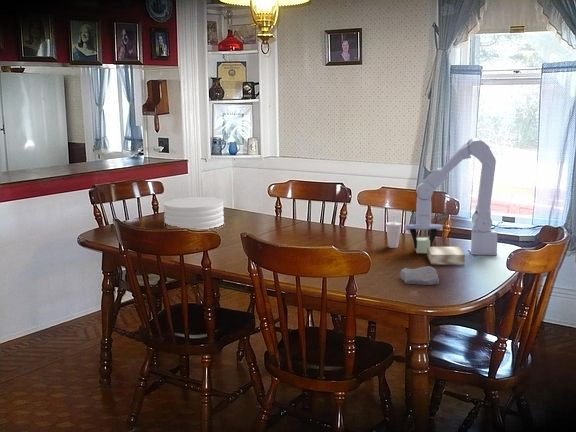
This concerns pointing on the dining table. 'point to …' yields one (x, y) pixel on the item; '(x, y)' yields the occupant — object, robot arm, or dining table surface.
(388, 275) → the dining table surface
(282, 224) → the dining table surface
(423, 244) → the green block
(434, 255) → the beige panel
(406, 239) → the dining table surface
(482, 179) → the robot arm
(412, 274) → the stone block
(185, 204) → the plate stack
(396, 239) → the smoothie
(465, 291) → the dining table surface
